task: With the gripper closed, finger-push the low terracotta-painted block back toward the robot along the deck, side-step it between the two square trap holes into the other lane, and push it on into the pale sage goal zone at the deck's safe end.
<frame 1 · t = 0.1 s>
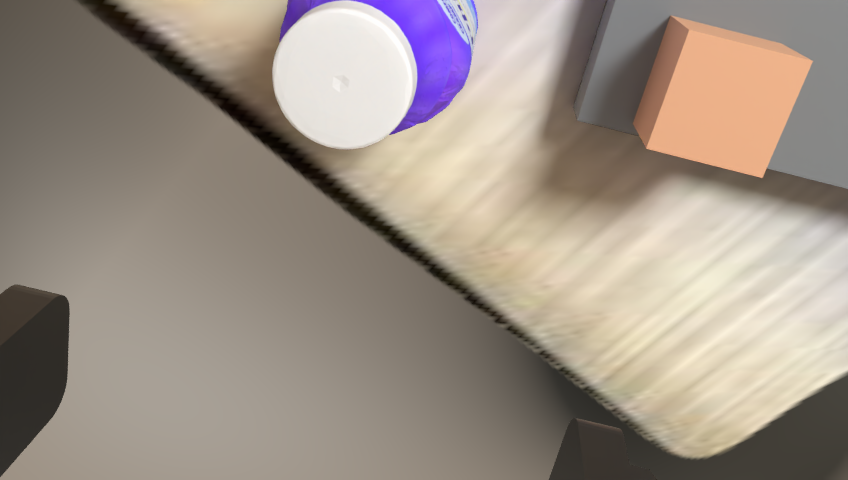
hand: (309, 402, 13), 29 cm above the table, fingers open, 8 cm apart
block: (705, 84, 36), point 2 cm above the table, touching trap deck
bottle: (410, 0, 39), on the table
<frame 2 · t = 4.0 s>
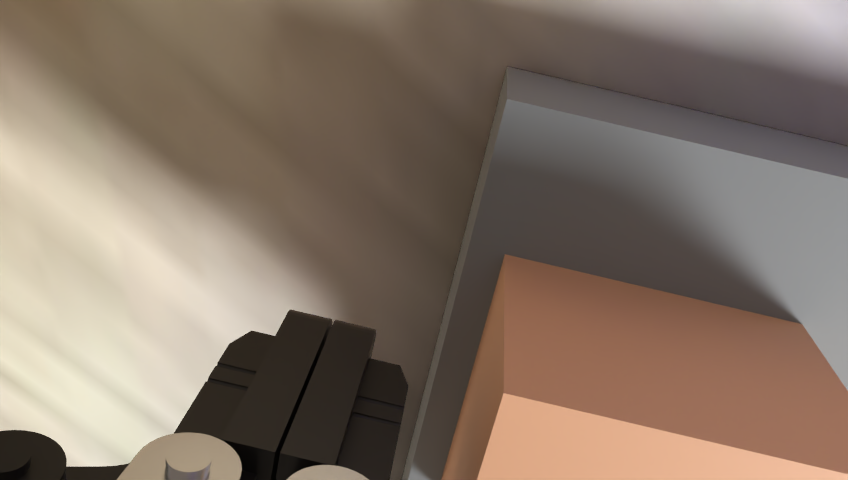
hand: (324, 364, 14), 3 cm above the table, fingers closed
block: (607, 411, 14), point 3 cm above the table, touching gripper, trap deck
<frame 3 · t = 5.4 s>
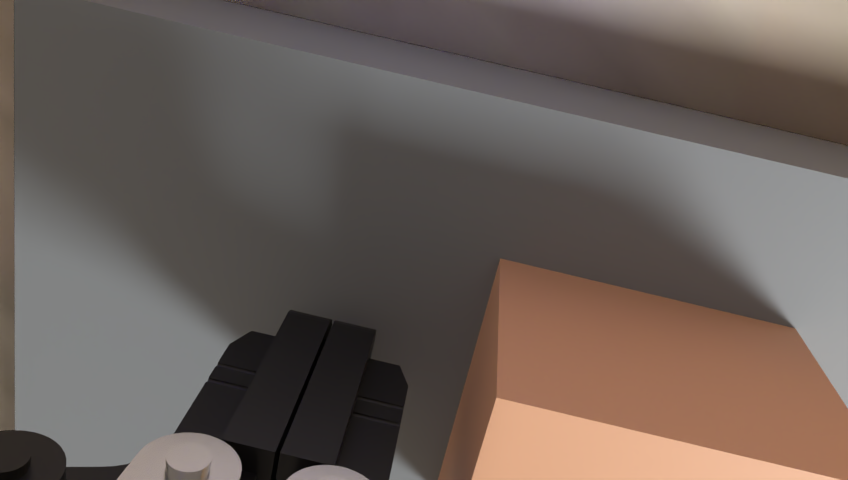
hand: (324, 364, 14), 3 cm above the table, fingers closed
block: (602, 414, 14), point 3 cm above the table, touching gripper
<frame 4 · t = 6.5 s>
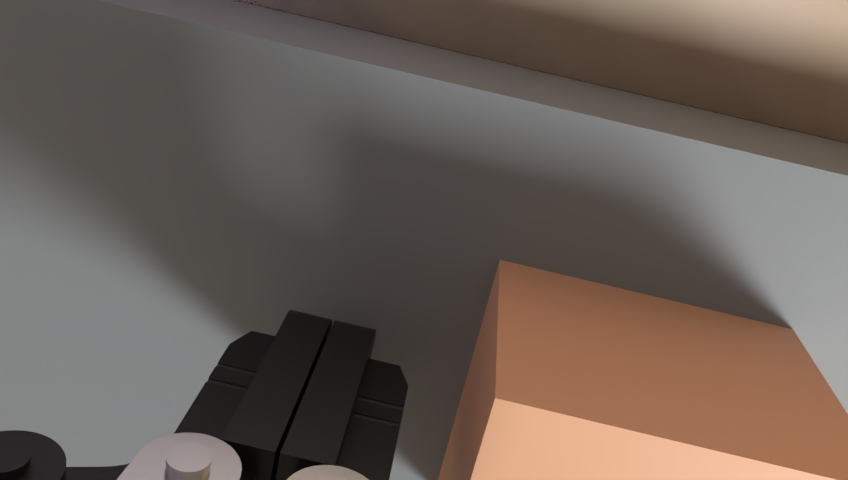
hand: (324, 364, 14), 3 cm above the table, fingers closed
block: (601, 414, 14), point 3 cm above the table, touching gripper
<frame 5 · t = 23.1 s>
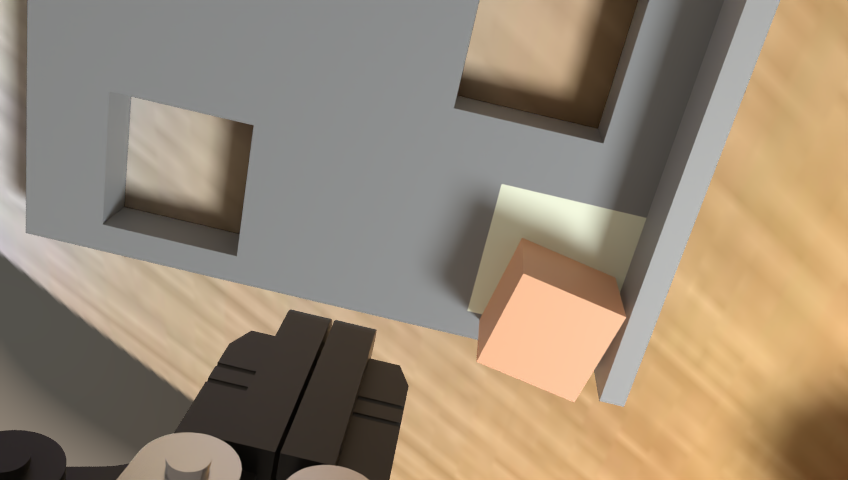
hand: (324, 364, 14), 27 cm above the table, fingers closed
block: (546, 299, 40), point 2 cm above the table, touching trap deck
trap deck: (351, 101, 39), on the table
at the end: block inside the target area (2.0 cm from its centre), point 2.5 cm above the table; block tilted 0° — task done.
